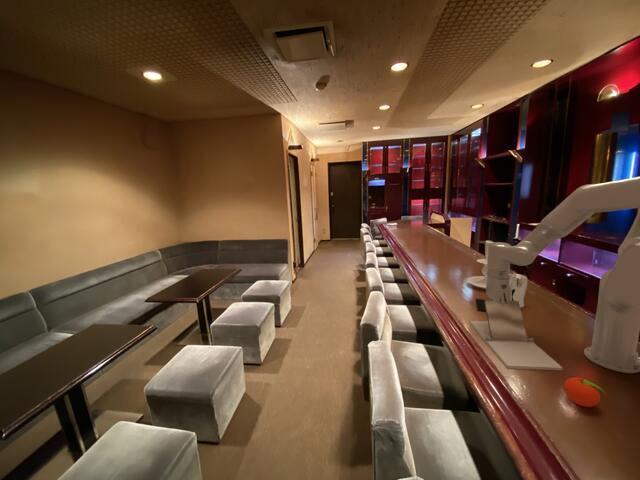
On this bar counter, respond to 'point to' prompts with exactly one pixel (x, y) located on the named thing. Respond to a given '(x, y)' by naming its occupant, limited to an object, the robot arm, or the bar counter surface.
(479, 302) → the smartphone
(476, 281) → the candlestick
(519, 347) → the plaque base
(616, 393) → the bar counter surface
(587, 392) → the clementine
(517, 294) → the beer glass
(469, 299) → the bar counter surface
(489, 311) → the flip plaque
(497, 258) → the robot arm
